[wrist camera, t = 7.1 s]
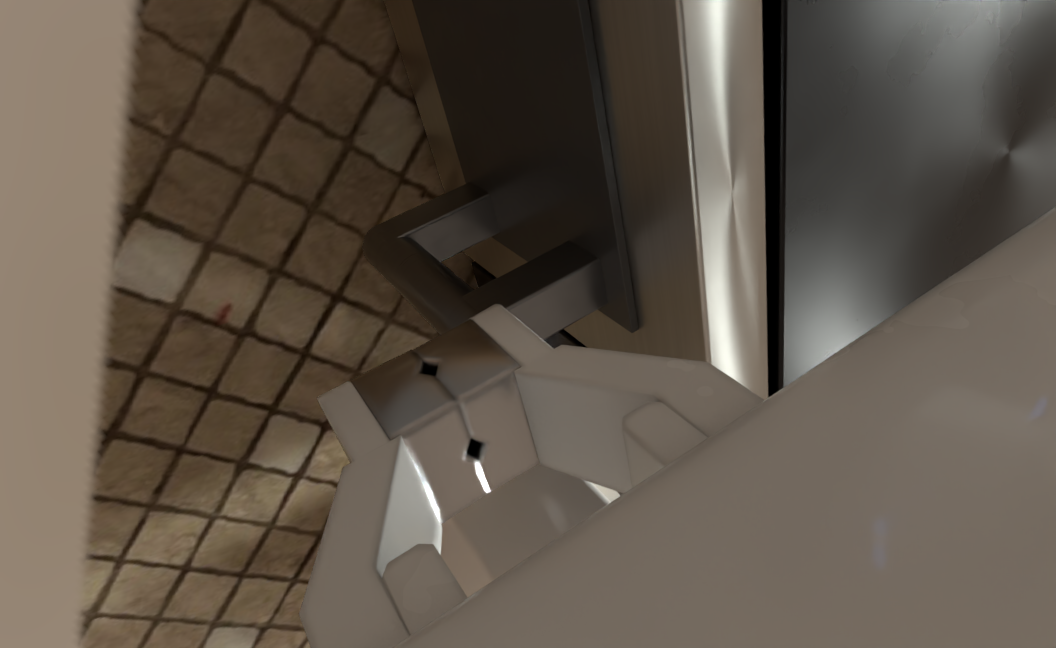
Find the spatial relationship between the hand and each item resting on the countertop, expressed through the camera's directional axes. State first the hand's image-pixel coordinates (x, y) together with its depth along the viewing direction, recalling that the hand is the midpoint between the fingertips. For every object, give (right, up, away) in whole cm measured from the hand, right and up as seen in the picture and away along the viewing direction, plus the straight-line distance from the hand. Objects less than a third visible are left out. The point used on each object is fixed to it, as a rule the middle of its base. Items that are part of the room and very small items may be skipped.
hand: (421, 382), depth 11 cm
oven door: (-3, +7, +9) cm, 12 cm away
